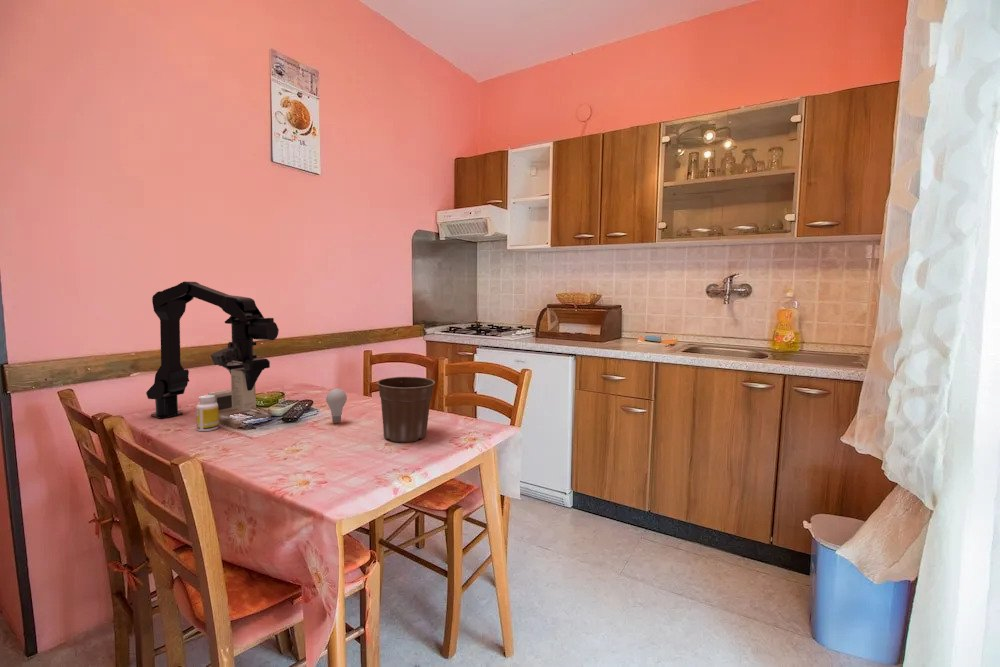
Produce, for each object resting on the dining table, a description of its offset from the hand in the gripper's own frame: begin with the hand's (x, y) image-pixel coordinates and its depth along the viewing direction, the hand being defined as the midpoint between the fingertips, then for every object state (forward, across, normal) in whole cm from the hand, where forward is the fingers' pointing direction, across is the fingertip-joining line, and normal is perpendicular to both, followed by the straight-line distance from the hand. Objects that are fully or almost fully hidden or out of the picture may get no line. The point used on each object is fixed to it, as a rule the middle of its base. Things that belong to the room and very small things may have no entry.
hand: (243, 388), depth 138 cm
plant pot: (+10, +50, +18) cm, 54 cm away
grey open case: (+10, -6, 0) cm, 12 cm away
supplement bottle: (+11, -1, -10) cm, 15 cm away
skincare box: (+6, 0, 0) cm, 6 cm away
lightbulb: (+10, +24, +15) cm, 30 cm away
